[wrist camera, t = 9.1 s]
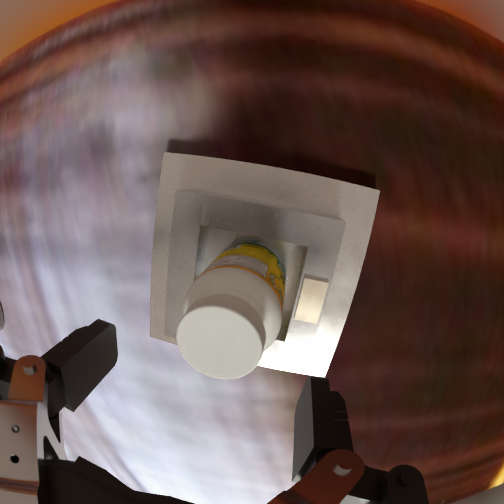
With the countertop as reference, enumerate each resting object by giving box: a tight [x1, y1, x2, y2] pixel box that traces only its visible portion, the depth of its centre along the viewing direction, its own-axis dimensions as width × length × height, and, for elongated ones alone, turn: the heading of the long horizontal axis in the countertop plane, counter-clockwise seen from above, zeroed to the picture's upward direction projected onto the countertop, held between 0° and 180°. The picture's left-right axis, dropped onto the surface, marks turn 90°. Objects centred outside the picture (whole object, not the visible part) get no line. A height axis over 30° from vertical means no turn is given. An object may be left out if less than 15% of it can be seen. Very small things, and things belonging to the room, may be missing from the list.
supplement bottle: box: [176, 241, 286, 379], centre depth 17 cm, size 5×5×10 cm
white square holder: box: [150, 152, 380, 377], centre depth 20 cm, size 16×16×4 cm
